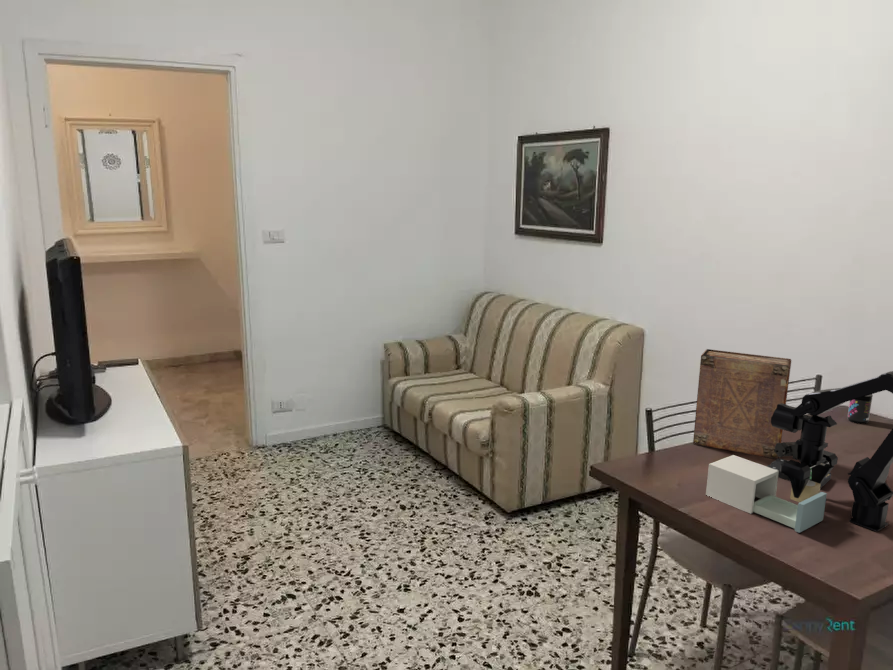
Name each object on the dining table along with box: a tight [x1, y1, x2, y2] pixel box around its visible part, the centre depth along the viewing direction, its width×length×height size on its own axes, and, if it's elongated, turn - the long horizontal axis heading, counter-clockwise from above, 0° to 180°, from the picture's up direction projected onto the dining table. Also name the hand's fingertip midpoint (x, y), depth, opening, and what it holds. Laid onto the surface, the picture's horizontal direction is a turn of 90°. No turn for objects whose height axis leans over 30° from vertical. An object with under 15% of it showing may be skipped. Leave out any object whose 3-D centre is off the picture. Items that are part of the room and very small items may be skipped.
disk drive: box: [765, 457, 832, 489], centre depth 197 cm, size 10×3×15 cm
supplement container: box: [846, 394, 873, 424], centre depth 245 cm, size 7×7×10 cm
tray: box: [753, 491, 828, 534], centre depth 171 cm, size 13×11×7 cm
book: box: [692, 348, 792, 460], centre depth 215 cm, size 25×9×30 cm, turn 61°
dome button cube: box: [789, 480, 821, 503], centre depth 181 cm, size 5×5×5 cm
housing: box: [705, 454, 779, 515], centre depth 181 cm, size 13×11×9 cm
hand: (805, 493), depth 181 cm, fingers open, 9 cm apart
